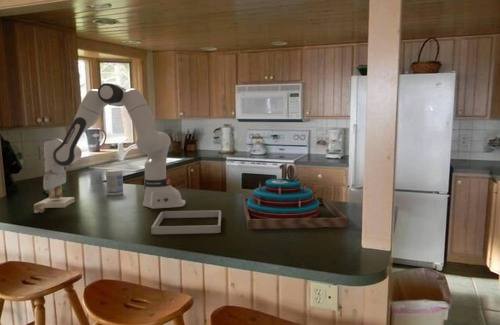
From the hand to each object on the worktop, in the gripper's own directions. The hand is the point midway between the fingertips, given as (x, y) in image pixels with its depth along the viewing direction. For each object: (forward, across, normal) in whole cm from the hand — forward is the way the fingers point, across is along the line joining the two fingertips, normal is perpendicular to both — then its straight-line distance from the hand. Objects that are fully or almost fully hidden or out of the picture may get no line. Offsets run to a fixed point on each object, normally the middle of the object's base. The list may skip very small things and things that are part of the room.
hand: (55, 194), depth 211 cm
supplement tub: (+6, +26, -24) cm, 36 cm away
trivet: (+6, 0, 0) cm, 6 cm away
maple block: (+6, -15, +2) cm, 16 cm away
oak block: (+2, 0, 0) cm, 2 cm away
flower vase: (+6, +25, +12) cm, 29 cm away
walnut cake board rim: (+6, -31, -122) cm, 126 cm away
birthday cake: (+6, -28, -119) cm, 122 cm away
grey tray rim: (+6, -44, -75) cm, 87 cm away
